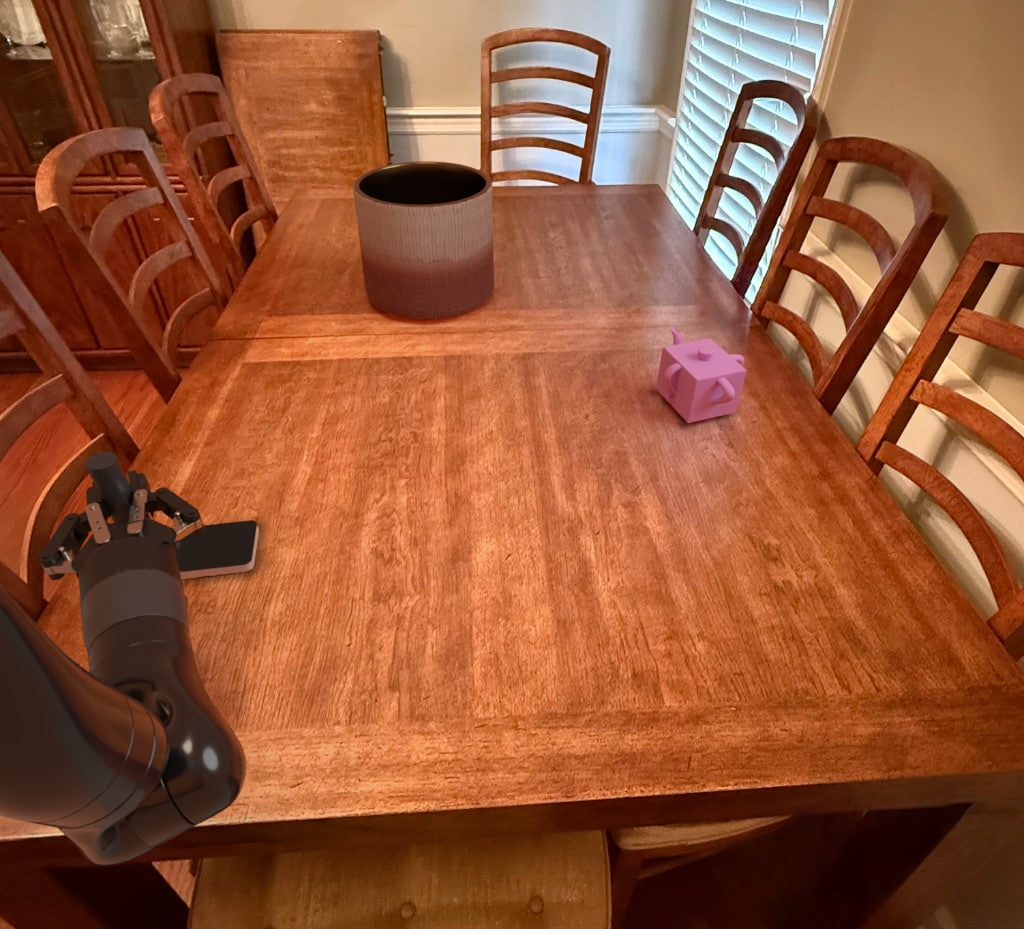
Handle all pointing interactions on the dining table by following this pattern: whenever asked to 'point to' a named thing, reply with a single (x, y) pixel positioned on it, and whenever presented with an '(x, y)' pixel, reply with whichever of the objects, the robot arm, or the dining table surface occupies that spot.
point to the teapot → (700, 378)
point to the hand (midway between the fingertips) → (117, 482)
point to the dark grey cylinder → (111, 484)
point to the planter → (426, 238)
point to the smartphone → (219, 550)
